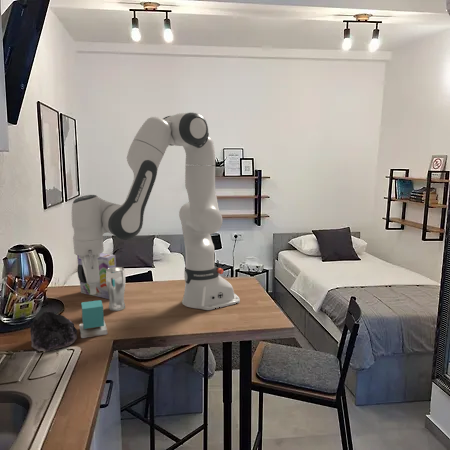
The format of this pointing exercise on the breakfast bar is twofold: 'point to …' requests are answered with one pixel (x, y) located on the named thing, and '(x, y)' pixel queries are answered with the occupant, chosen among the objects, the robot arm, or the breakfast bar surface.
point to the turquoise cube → (92, 314)
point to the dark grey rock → (52, 332)
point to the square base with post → (93, 331)
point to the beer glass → (115, 288)
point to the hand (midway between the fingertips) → (91, 289)
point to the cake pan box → (103, 263)
